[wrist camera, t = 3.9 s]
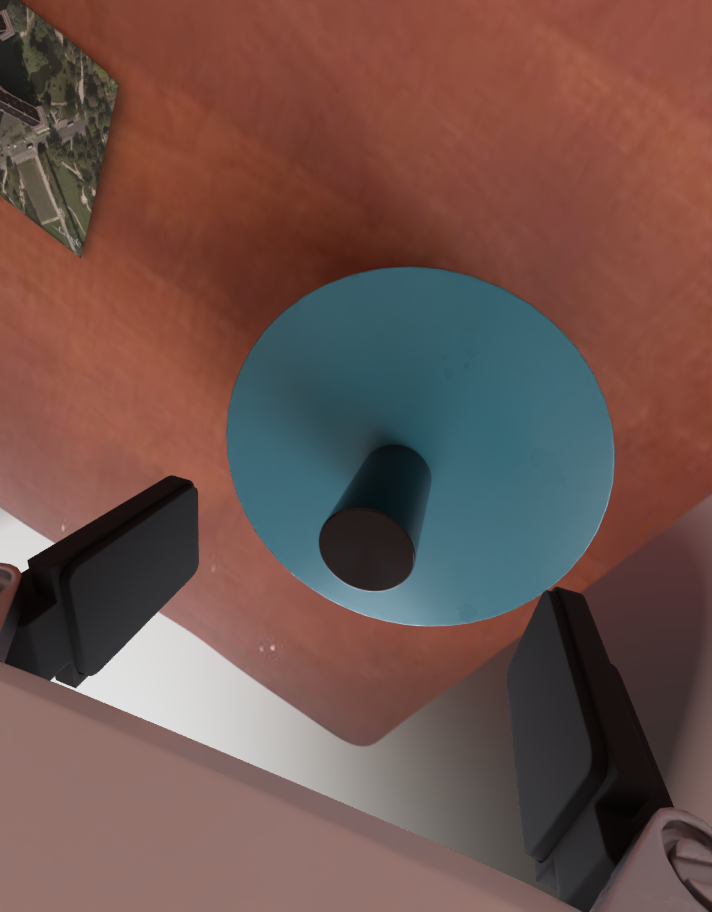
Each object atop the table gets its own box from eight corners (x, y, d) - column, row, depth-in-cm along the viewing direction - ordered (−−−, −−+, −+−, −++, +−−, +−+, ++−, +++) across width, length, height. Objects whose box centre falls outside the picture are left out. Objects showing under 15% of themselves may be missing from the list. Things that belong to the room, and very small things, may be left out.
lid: (689, 310, 12) (874, 323, 6) (524, 649, 18) (547, 802, 13) (245, 238, 15) (110, 204, 9) (235, 555, 21) (151, 647, 15)
